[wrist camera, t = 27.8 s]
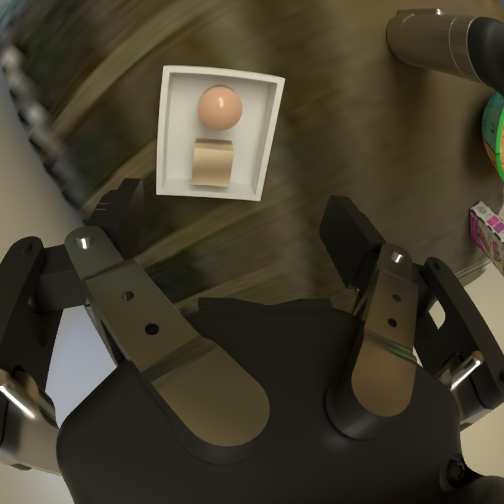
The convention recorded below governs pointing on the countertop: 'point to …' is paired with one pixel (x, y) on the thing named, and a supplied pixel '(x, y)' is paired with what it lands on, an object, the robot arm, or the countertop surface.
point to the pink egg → (219, 108)
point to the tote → (190, 127)
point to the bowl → (494, 132)
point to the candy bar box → (488, 233)
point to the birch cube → (212, 162)
